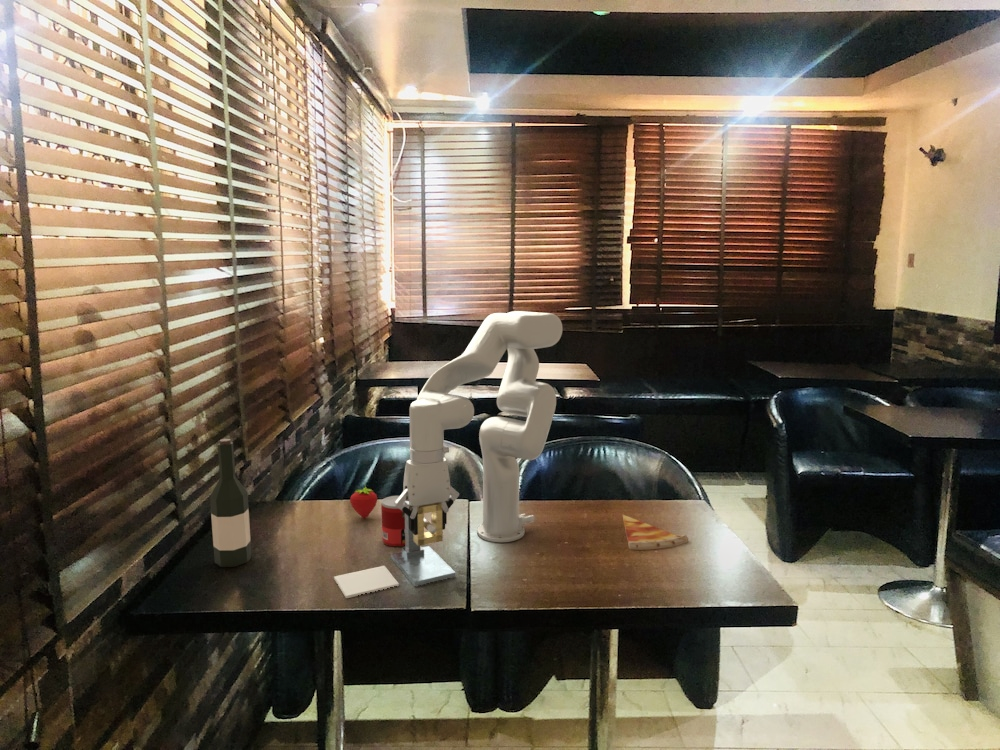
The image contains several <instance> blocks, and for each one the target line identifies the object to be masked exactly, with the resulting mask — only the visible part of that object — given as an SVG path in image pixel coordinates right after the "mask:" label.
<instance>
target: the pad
mask: <svg viewBox="0 0 1000 750" xmlns="http://www.w3.org/2000/svg"><path fill="white" fill-rule="evenodd" d="M333 580H334V581H335V583H336V585H337V584H338V585H337V586H338V588H339V589H340V591H341V592H342V594H343V596H344V598H345V599H349V598H354V597H358V595H359V596H361V594H363V595H366V594H365V593H367V594H370V592H372V593H375V591H376V592H379V591H378V590H380V591H384V590H388V589H387V588H389V589H391V588H390V587H393V588H395V587H394V586H397V587H399V586H400V583H399V582H398V581H397V579H396V578H395V577H394V575H392V573H391V572H390V570H389V569H388V568H387V567H386V565H380V566H377V567H376V566H375V567H371V568H367V569H363V570H359V571H358V570H357V571H352V572H349V573H344V574H339V575H336V576H335V575H334V576H333ZM383 589H384V590H383Z"/></svg>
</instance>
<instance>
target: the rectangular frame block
mask: <svg viewBox="0 0 1000 750" xmlns="http://www.w3.org/2000/svg"><path fill="white" fill-rule="evenodd" d="M427 513H430V514H431V518H430V519H431V520H430V521H431V522H430V523H431V524H432V525H433V526H434V527H435V528H436V533H434V534H431V533H430V532H429V531H427V532H425V527H424V518H425V514H427ZM416 518H417V519H418V534H417V535H414V534H413V541H414V542H415V543H416V544H417V545H418V546H425V545H429V544H430V545H431V544H434V543H440V542H443V540H444V539H443V536H444V535H443V530H442V504H440V503H434V504H429V505H423V506H419V508H417V514H416Z"/></svg>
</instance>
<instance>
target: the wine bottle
mask: <svg viewBox="0 0 1000 750" xmlns="http://www.w3.org/2000/svg"><path fill="white" fill-rule="evenodd" d="M218 441H219V443H217V454H218V468H219V470H218V471H219V479H218V481H217V483H216V485H215V487H214V489H213V490H212V492H211V494H210V496H209V502H210V503H209V504H210V505H209V506H210V516H211V517H210V518H211V530H212V545H213V558H214V559H213V560H214V564H216V565H217V566H218V567H221V568H234V567H238V566H241V565H243V564H246V563H248V562H249V561H250V559H251V558H252V546H251V545H252V543H251V528H250V527H251V526H250V511H249V497H248V496H249V495H248V490H247V489H246V488H245V486H243V484H242V483H241V482H240V480H239V479H238V478H237V476H236V467H235V466H236V465H235V463H236V462H235V450H234V448H235V447H234V442H233V441H232V438H231V439H230V438H222V439H220V440H218Z"/></svg>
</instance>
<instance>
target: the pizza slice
mask: <svg viewBox="0 0 1000 750" xmlns="http://www.w3.org/2000/svg"><path fill="white" fill-rule="evenodd" d="M622 520H623V525H624V529H625V534H626V539H627V544H628V550H634V551H635V550H636V551H637V550H642V551H643V550H655V549H667V548H673V547H677V546H679V545H683V544H687V543H688V542H689V538H688V536H687V535H686V534H680V535H677V534H674V533H672V532H669V531H666V530H664V529H661V528H659V527H656V526H653V525H651V524H649V523H646V522H644V521H641V520H638V519H636V518H633V517H631V516H628V515H625V514H622Z"/></svg>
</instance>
